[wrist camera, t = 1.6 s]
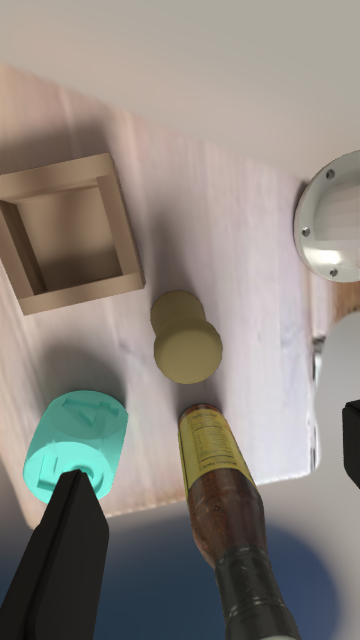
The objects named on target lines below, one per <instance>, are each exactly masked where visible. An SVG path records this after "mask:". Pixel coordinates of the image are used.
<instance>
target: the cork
mask: <svg viewBox="0 0 360 640" xmlns="http://www.w3.org/2000/svg"><path fill="white" fill-rule="evenodd" d="M151 324H152V327H153V330H154V332H155V334H156V339H155V342H154V358H155V361H156V364H157V366H158V368H159V369H160V370H161V372H162V373H163V374H164V375H165V376H166V377H167V378H169V379H170V380H172V381H174V382H178V383H181V384H194V383H197V382H201V381H203V380H205V379H206V378H208V377H209V376H211V375H212V374H213V373H214V371H215V370H216V369H217V368H218V366H219V364H220V361H221V359H222V350H223V347H222V342H221V338H220V335H219V334H218V332H217V331H216V329H215V328H214V327H213V325H211V324H210V323H209V322H207V321H206V318H205V313H204V309H203V306H202V304H201V303H200V301H199V299H198V298H196V297H195V296H194V295H193V294H191V293H188V292H186V291H177V290H174V291H171V292H167V293H165V294H164V295H162V296H161V297H159V298H158V299H157V301H156V302H155V303H154V305H153V307H152V310H151Z"/></svg>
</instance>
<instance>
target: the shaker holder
mask: <svg viewBox="0 0 360 640" xmlns="http://www.w3.org/2000/svg"><path fill="white" fill-rule="evenodd" d="M0 258H1V261H2V263H3V266H4V268H5V271H6V273H7V275H8V278H9V280H10V283H11V285H12V288H13V290H14V292H15V295H16V297H17V300H18V302H19V305H20V307H21V309H22V312H23V314H24V316H25V315H30V314H34V313H38V312H43V311H47V310H51V309H56V308H60V307H64V306H69V305H73V304H78V303H82V302H86V301H91V300H95V299H99V298H104V297H108V296H113V295H117V294H121V293H126V292H130V291H134V290H139V289H143V288H144V286H145V283H146V282H145V278H144V275H143V271H142V267H141V263H140V259H139V255H138V251H137V247H136V243H135V239H134V235H133V231H132V227H131V223H130V220H129V216H128V212H127V208H126V204H125V200H124V196H123V192H122V188H121V184H120V180H119V176H118V172H117V169H116V166H115V164H114V162H113V160H112V158H111V156H110V154H109V152H108V153H103V154H98V155H93V156H89V157H84V158H79V159H75V160H70V161H65V162H61V163H56V164H51V165H46V166H42V167H37V168H32V169H28V170H23V171H18V172H14V173H9V174H4V175H0Z"/></svg>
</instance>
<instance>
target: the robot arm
mask: <svg viewBox="0 0 360 640" xmlns="http://www.w3.org/2000/svg"><path fill="white" fill-rule="evenodd" d="M302 231H303V234H302ZM294 238H295V243H296V248H297V250H298V253H299V255H300V257H301V259H302V260H303V262H304V263H305V265H306V266H307V267H308V268H309V269H310V270H311V271H312V272H313V273H315V274H316V275H318V276H320V277H322V278H324V279H328V280H331V281H337V282H355V281H359V280H360V150H359V151H355V152H352V153H349V154H346V155H343V156H341V157H340V158H337V159H335V160H334V161H332V162H331V163H329V164H328V165H326V166H325V167H324V168H322V169H321V170H320V171H319V172H318V173H317V174H316V175H315V176H314V177H313V178H312V180H311V181H310V183H309V184H308V185H307V187H306V188H305V190H304V192H303V194H302V196H301V198H300V200H299V203H298V206H297V210H296V213H295V220H294ZM342 421H343V454H344V468H345V470H346V472H347V474H348V476H349V477H350V478H351V479H352V480H353V482H354V483H355V484H356V485H357V487H358V488H359V489H360V400H356V401H351V402H348V403H346V405H345V408H343V409H342ZM108 540H109V526H108V524H107V521H106V519H105V516H104V514H103V511H102V509H101V506H100V504H99V502H98V499H97V497H96V494H95V492H94V489H93V487H92V485H91V482H90V480H89V477H88V475H87V473H86V472H83V473H82V471H81V470H80V469H76V470H72V471H68V472H63V473H62V474H61V475H60V477H59V479H58V481H57V484H56V486H55V488H54V491H53V493H52V496H51V498H50V500H49V503H48V505H47V508H46V510H45V512H44V515H43V517H42V520H41V522H40V524H39V525H38V526H37V527H36V528H35V530H34V532H33V534H32V536H31V539H30V541H29V543H28V545H27V548H26V550H25V552H24V555H23V557H22V559H21V562H20V564H19V566H18V569H17V571H16V573H15V576H14V578H13V580H12V583H11V585H10V587H9V589H8V592H7V594H6V596H5V599H4V601H3V604H2V606H1V608H0V640H93V634H94V627H95V622H96V615H97V609H98V603H99V597H100V591H101V584H102V578H103V572H104V566H105V559H106V553H107V547H108Z"/></svg>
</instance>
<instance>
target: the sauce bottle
mask: <svg viewBox="0 0 360 640" xmlns="http://www.w3.org/2000/svg"><path fill="white" fill-rule="evenodd" d="M178 442H179V449H180V457H181V464H182V471H183V479H184V486H185V494H186V501H187V507H188V510H189V513H190V519H191V527H192V533H193V537H194V540H195V542H196V545H197V546H198V548H199V550H200V552H201V553H202V555H203V556H204V559H205V560H206V561H207V562H208V563H209V564H210V566H211V567H213V569H214V570H215V581H216V584H217V585H218V589H219V594H220V599H221V603H222V610H223V616H224V620H225V624H226V628H225V640H301V637H300V634H299V631H298V628H297V625H296V623H295V620H294V617H293V615H292V614H291V612H290V611H289V610H288V608H287V607H286V605H285V603H284V601H283V598H282V596H281V593H280V590H279V587H278V585H277V582H276V580H275V577H274V574H273V571H272V566H271V562H270V560H269V558H268V549H267V538H266V528H265V517H264V507H263V502H262V499H261V497H260V494H259V492H258V490H257V487H256V485H255V483H254V481H253V478H252V476H251V474H250V472H249V469H248V467H247V465H246V462H245V460H244V458H243V456H242V454H241V452H240V450H239V447H238V445H237V443H236V440H235V438H234V436H233V434H232V431H231V429H230V427H229V425H228V423H227V420H226V419H225V417H224V416H223V415H222V414H221V413H220V411H219V410H217V409H216V408H214V407H213V406H211V405H203V404H201V405H196V406H192V407H189V409H187V410H186V411H185V412H184V413H183V415H182V416H181V418H180V420H179V421H178Z"/></svg>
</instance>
